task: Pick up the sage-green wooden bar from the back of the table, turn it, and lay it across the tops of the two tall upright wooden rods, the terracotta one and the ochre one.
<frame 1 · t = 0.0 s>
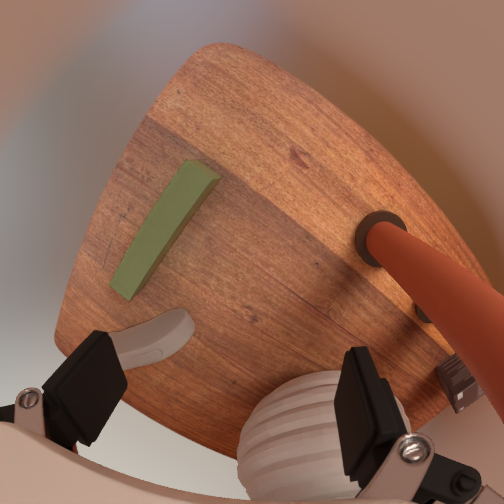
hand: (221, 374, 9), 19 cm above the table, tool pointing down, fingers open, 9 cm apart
ochre rod: (434, 299, 28), on the table
green bar: (166, 228, 28), on the table
terracotta rod: (380, 238, 26), on the table
table lamp: (319, 398, 34), on the table
box: (452, 365, 31), on the table
grey piece: (140, 327, 33), on the table
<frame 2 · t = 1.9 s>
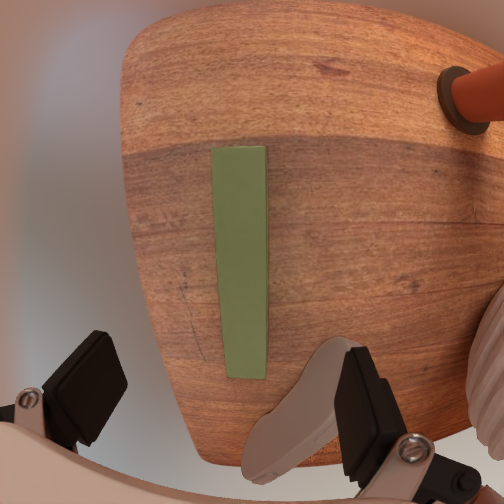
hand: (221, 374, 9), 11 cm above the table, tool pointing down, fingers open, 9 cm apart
green bar: (248, 261, 20), on the table
terracotta rod: (463, 100, 14), on the table
grey piece: (292, 391, 24), on the table
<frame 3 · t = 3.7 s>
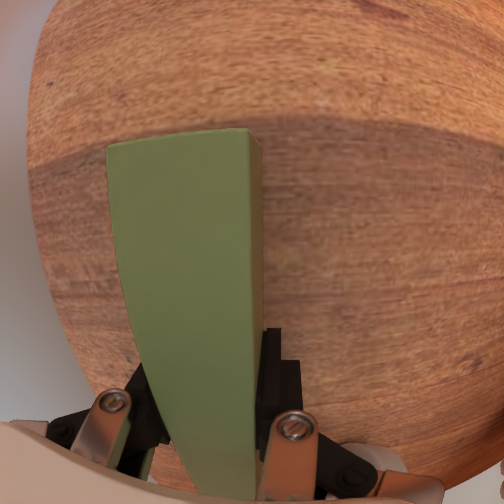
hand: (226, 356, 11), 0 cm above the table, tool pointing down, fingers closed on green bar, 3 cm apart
green bar: (227, 353, 11), on the table, touching gripper
grey piece: (294, 480, 15), on the table
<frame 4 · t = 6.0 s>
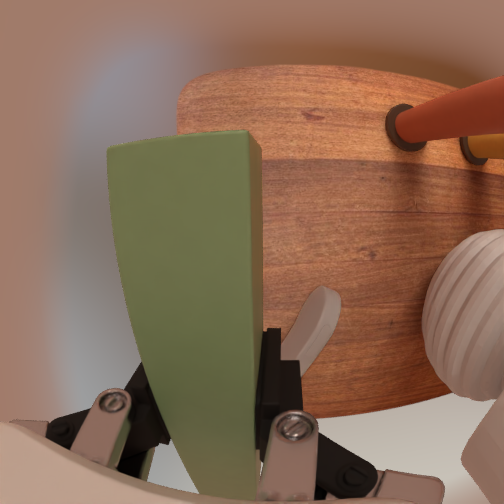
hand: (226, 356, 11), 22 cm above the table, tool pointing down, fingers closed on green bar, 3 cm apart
ochre rod: (473, 144, 25), on the table
green bar: (227, 353, 11), point 22 cm above the table, touching gripper
terracotta rod: (406, 127, 26), on the table
table lamp: (459, 286, 31), on the table
grey piece: (290, 336, 36), on the table
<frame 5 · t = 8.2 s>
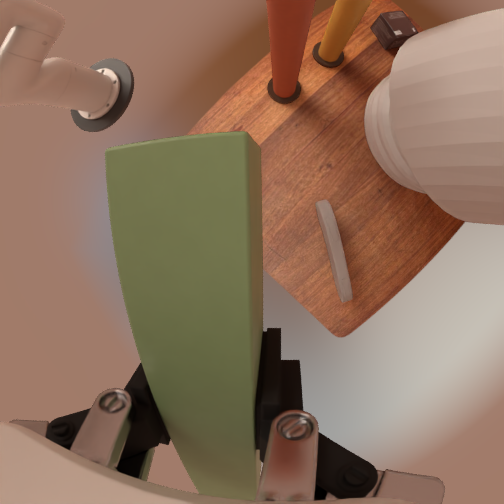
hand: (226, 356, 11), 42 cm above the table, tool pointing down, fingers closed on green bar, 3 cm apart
ochre rod: (328, 54, 40), on the table
green bar: (227, 354, 11), point 41 cm above the table, touching gripper
terracotta rod: (284, 89, 43), on the table
table lamp: (401, 134, 43), on the table
box: (387, 37, 36), on the table
grey piece: (330, 246, 51), on the table
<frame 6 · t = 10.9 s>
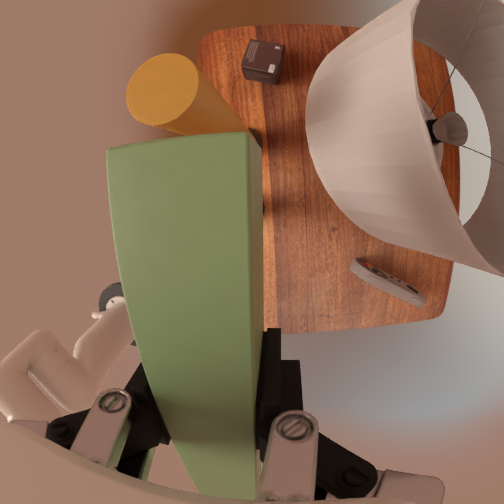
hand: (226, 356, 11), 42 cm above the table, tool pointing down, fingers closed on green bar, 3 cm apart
ochre rod: (246, 144, 47), on the table
green bar: (227, 355, 11), point 41 cm above the table, touching gripper
table lamp: (358, 145, 45), on the table
box: (264, 69, 42), on the table
grey piece: (384, 275, 52), on the table
when the fingers open (38 cm above the table, at t = 12.7 s): green bar stays where it is, resting on ochre rod, terracotta rod.
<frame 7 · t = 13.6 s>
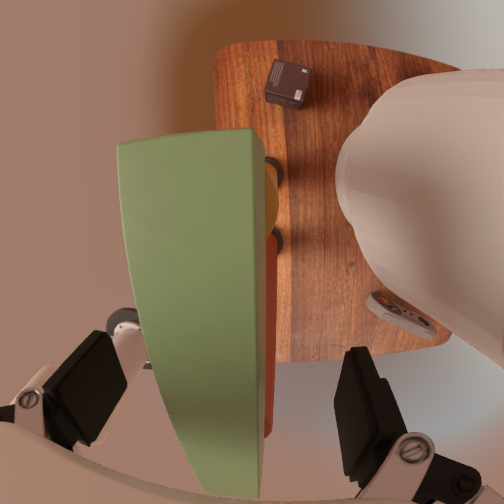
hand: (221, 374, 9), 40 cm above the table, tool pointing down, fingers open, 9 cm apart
ochre rod: (265, 174, 45), on the table
green bar: (230, 348, 11), point 38 cm above the table, touching ochre rod, terracotta rod
terracotta rod: (266, 241, 49), on the table
table lamp: (381, 179, 43), on the table
box: (286, 91, 40), on the table
grey piece: (396, 307, 51), on the table
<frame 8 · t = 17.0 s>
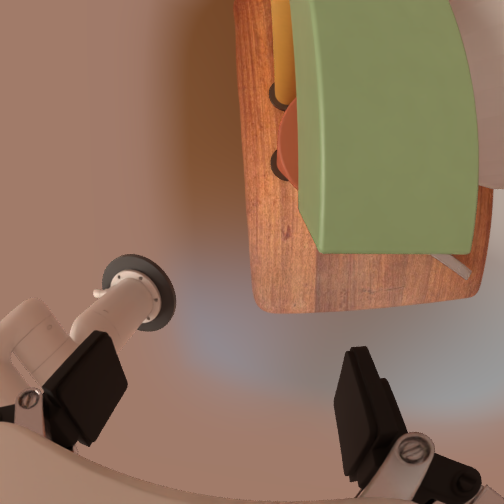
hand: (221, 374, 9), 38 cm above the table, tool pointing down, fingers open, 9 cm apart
ochre rod: (287, 95, 39), on the table
terracotta rod: (288, 163, 43), on the table
table lamp: (401, 107, 38), on the table
grey piece: (427, 246, 45), on the table
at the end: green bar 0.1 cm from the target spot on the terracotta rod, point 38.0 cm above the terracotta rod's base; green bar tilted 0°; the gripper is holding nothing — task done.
